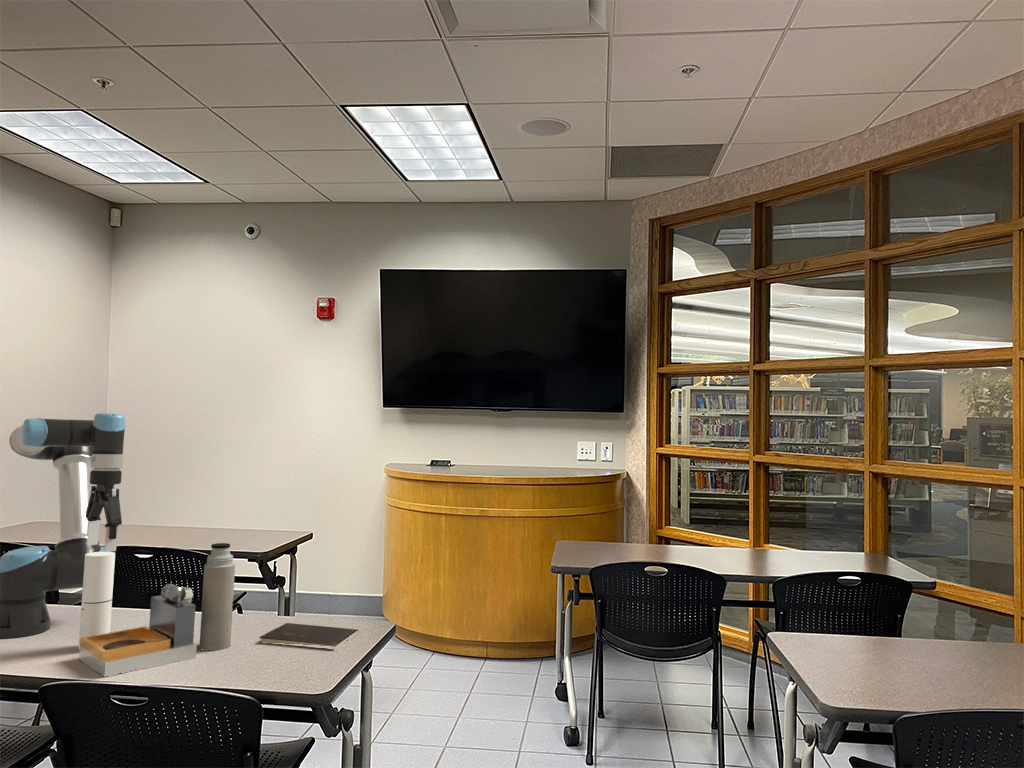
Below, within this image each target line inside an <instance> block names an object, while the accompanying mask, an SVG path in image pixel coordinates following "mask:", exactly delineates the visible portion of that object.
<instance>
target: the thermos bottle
mask: <svg viewBox="0 0 1024 768" xmlns="http://www.w3.org/2000/svg"><path fill="white" fill-rule="evenodd" d="M210 545H211V552H210V554H209V555H207V560H206V563H205V564H204V566H203V580H202V596H201V597H202V600H201V615H200V616H201V617H200V618H201V619H200V629H199V630H200V631H199V632H200V633H199V649H200V650H202V649H203V650H202V651H208V650H214V651H220V650H221V649H222V650H224V648H225V649H227V647H228V648H229V646H230V647H231V643H232V627H233V625H232V624H233V603H234V593H235V592H234V589H235V578H236V577H235V575H236V573H235V572H236V563H235V562H233V561H234V555H233V554H231V548H230V547H231V544H230V543H225V542H217V543H213V544H210Z"/></svg>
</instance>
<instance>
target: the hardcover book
mask: <svg viewBox="0 0 1024 768" xmlns="http://www.w3.org/2000/svg"><path fill="white" fill-rule="evenodd" d="M356 631H358V632H359V629H355V628H345V627H335V626H324V625H314V624H303V623H294V622H293V623H292V622H285V623H284V624H282V625H280V626H277V627H276V628H274V629H272V630H270V631H268V632H266V633H265V634H262V635H261V636H259V637H258V638H259V639H260V643H261V642H267V643H284V644H303V645H320V646H331V647H336V646H337V645H339V644H340V643H341V642H343V641H344V640H345V639H347V638H348V637H349V636H350V635H352V634H353V633H355V632H356Z"/></svg>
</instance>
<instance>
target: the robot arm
mask: <svg viewBox="0 0 1024 768" xmlns="http://www.w3.org/2000/svg"><path fill="white" fill-rule="evenodd" d="M125 429H126V417H125V415H124V414H122V413H104V412H102V413H101V412H100V413H99V412H98V413H95V415H94V417H93V419H60V418H59V419H56V418H42V417H38V418H26V419H25V420H24V421H23V424H22V425H20V426H18V427H16V428H15V429H14V430H13V431H12V432H11V434H10V436H9V446H10V447H11V448H10V449H12V451H13V452H14V453H16V454H17V455H20V456H21V457H24V458H27V459H32V460H38V461H40V460H42V461H44V460H45V461H49V460H50V461H52V466H53V467H54V468H55V469H57V470H58V488H59V489H58V491H59V493H58V494H59V495H58V496H59V525H60V527H59V528H60V529H59V531H60V540H59V541H58V542H57V543H56V544H55V545H54V550H51V549H50V548H49V546H48V545H32V546H26V547H21V548H17V549H12V550H9V551H8V552H4V554H3V555H1V556H0V639H9V638H10V639H11V638H21V637H29V636H33V635H37V634H40V633H44V632H46V631H48V630H49V629H50V628H51V617H50V613H49V611H48V607H47V603H46V592H51V591H52V592H53V591H59V590H71V589H83V577H84V563H85V554H87V553H92V552H116V551H117V546H118V545H117V543H118V529H119V526H120V525H122V524H123V520H122V513H121V512H122V511H121V504H120V503H121V502H120V488H115V485H120V484H121V483H122V474H123V473H122V470H121V469H122V468H123V462H124V454H123V453H124V445H125ZM91 469H93V470H91ZM103 510H104V515H105V516H104V517H105V520H106V523H105V525H104V528H105V533H104V534H105V535H104V546H102V545H101V546H100V540H99V537H100V524H101V523H100V521H101V520H102V519H101V514H102V511H103Z"/></svg>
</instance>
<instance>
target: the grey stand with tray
mask: <svg viewBox="0 0 1024 768" xmlns="http://www.w3.org/2000/svg"><path fill="white" fill-rule="evenodd" d="M181 587H182V586H181ZM181 587H180V586H178V585H176V584H173V583H167V584H165V585H163V587H162V589H161V591H160V595H155V596H151V597H150V607H149V608H150V609H149V624H148V625H149V627H148V626H146V625H145V626H139V627H133V628H127V629H121V630H117V631H115V630H114V631H110V633H104V634H98V635H93V636H87V637H81V638H80V651H79V650H78V651H79V652H78V653H79V654H78V660H79V661H80V660H81V662H82V663H83V662H84V663H83V664H85V665H86V664H87V665H88V667H89V666H90V667H91V668H90V667H89V668H90V669H92V668H93V669H94V670H95V671H94V670H93V669H92V670H93V671H94V672H96V671H97V672H98V673H97V672H96V673H97V674H99V673H100V674H101V675H102V676H101V675H100V674H99V675H100V676H101V677H103V676H104V677H103V678H107V677H106V676H109V677H111V676H110V675H114V676H117V675H116V674H118V675H120V674H119V673H123V674H126V673H125V672H128V673H131V672H130V671H132V672H136V671H135V670H137V671H141V670H145V669H149V668H154V667H159V666H164V665H169V664H173V663H177V662H182V661H186V660H187V659H188V660H192V659H196V658H197V646H198V644H197V643H196V642H194V636H195V619H196V607H197V606H196V604H194V603H192V602H191V603H190V602H187V601H185V600H184V598H185V596H186V592H185V590H184V589H183V588H181ZM87 665H86V666H87Z"/></svg>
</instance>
